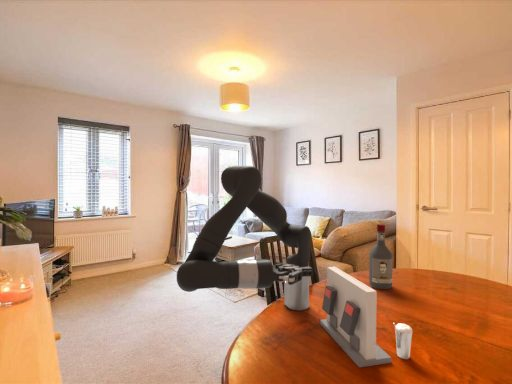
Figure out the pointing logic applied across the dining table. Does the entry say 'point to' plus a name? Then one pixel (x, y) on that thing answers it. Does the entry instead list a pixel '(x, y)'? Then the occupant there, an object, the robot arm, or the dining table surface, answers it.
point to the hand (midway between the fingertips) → (312, 271)
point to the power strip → (364, 337)
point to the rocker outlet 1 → (329, 300)
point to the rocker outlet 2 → (350, 318)
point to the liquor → (380, 262)
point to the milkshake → (403, 340)
